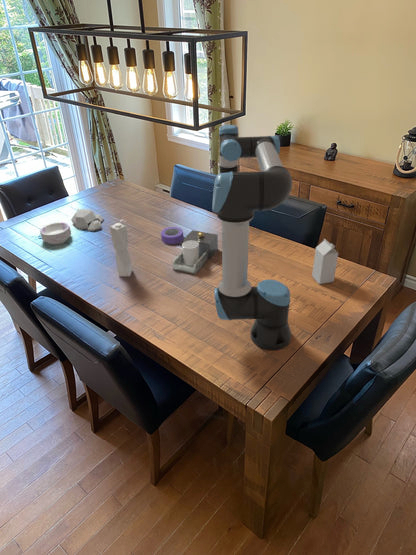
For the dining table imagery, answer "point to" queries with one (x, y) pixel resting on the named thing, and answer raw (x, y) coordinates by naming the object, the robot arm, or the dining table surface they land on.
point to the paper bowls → (55, 233)
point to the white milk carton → (325, 263)
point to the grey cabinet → (206, 251)
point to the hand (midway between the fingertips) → (228, 213)
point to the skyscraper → (121, 248)
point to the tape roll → (176, 235)
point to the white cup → (190, 252)
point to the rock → (87, 220)
